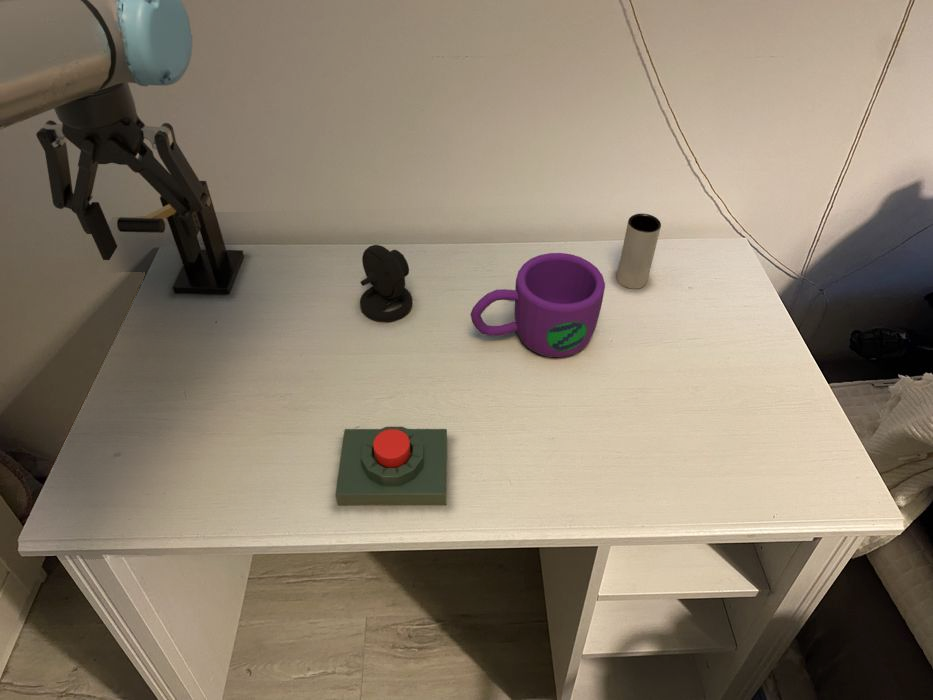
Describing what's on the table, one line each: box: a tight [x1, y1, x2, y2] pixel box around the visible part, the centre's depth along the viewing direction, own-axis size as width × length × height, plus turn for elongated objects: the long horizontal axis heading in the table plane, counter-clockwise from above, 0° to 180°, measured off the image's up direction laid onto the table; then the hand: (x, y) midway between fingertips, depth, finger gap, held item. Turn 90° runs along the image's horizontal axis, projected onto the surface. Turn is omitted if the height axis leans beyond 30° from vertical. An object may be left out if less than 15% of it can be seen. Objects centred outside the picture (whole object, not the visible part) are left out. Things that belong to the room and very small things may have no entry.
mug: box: [470, 252, 606, 358], centre depth 94 cm, size 17×11×10 cm, turn 100°
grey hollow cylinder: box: [616, 213, 662, 290], centre depth 103 cm, size 4×4×10 cm
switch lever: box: [116, 204, 176, 234], centre depth 91 cm, size 16×5×2 cm, turn 178°
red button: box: [373, 429, 410, 468], centre depth 79 cm, size 4×4×2 cm
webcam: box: [359, 244, 413, 323], centre depth 98 cm, size 8×8×10 cm
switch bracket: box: [159, 180, 245, 296], centre depth 101 cm, size 9×8×15 cm
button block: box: [335, 426, 448, 506], centre depth 80 cm, size 12×9×4 cm
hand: (152, 254), depth 87 cm, fingers open, 10 cm apart
